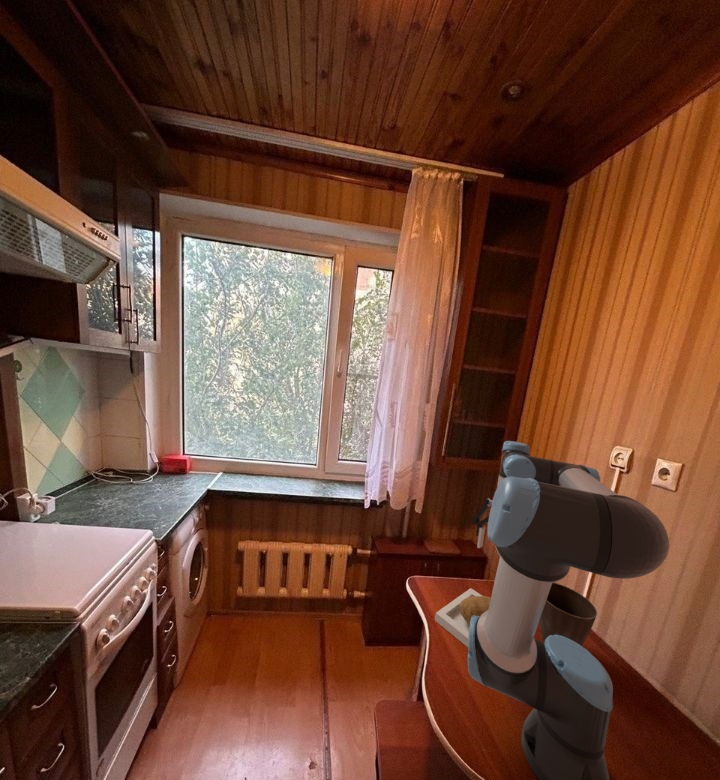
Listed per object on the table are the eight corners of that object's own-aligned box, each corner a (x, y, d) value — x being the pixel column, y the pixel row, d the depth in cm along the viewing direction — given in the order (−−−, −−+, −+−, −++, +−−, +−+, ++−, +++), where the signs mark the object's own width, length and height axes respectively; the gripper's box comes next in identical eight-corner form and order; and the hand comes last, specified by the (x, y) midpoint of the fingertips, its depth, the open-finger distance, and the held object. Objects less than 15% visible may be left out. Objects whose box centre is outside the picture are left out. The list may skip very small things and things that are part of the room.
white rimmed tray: (489, 664, 84) (490, 653, 84) (434, 620, 97) (436, 611, 97) (520, 628, 98) (522, 619, 98) (469, 594, 112) (470, 586, 112)
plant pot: (570, 634, 98) (578, 587, 98) (600, 679, 84) (609, 623, 83) (522, 624, 100) (529, 577, 100) (543, 665, 85) (551, 611, 85)
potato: (507, 632, 95) (510, 607, 95) (471, 640, 90) (475, 614, 90) (484, 608, 105) (487, 586, 104) (451, 615, 100) (454, 591, 99)
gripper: (559, 503, 89) (548, 574, 89) (477, 477, 107) (469, 536, 107) (551, 508, 83) (540, 583, 84) (467, 479, 102) (458, 541, 102)
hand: (500, 557), depth 96 cm, fingers open, 13 cm apart
